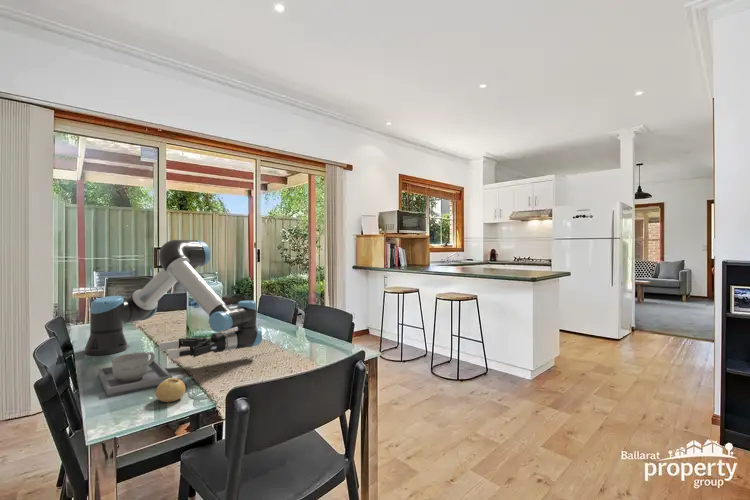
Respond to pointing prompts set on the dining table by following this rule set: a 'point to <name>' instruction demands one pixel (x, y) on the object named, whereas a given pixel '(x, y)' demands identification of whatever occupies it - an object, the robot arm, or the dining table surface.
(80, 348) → the dining table surface
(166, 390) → the onion
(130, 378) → the teacup
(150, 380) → the tray
